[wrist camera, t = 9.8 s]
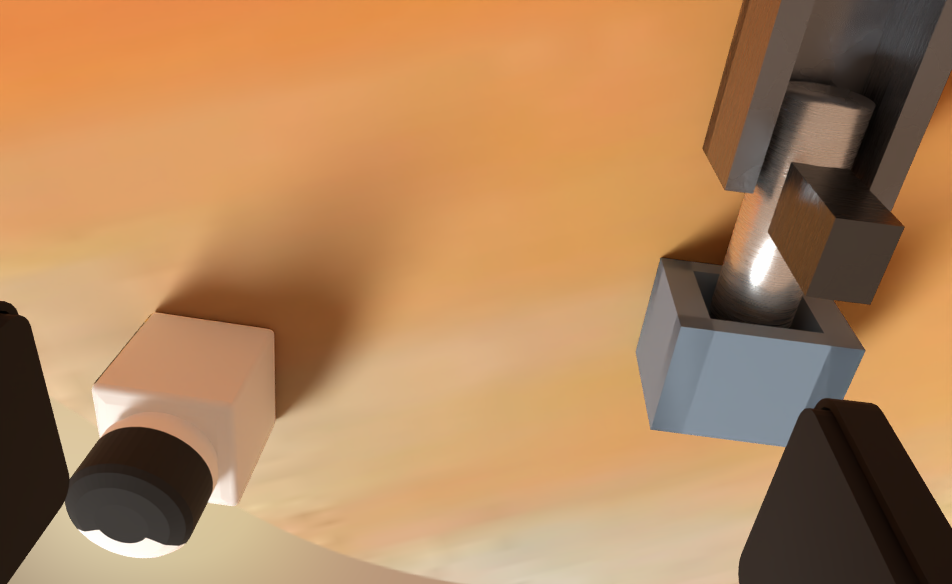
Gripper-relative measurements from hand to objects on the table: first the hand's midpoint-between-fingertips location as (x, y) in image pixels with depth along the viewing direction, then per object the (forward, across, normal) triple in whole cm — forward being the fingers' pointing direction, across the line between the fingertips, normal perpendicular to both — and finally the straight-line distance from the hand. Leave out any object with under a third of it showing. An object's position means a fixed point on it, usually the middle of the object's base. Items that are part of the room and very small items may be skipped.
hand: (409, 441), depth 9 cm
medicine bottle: (+28, +14, +22) cm, 39 cm away
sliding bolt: (+27, -14, +8) cm, 31 cm away
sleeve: (+28, -14, 0) cm, 31 cm away
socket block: (+28, -14, +14) cm, 34 cm away
